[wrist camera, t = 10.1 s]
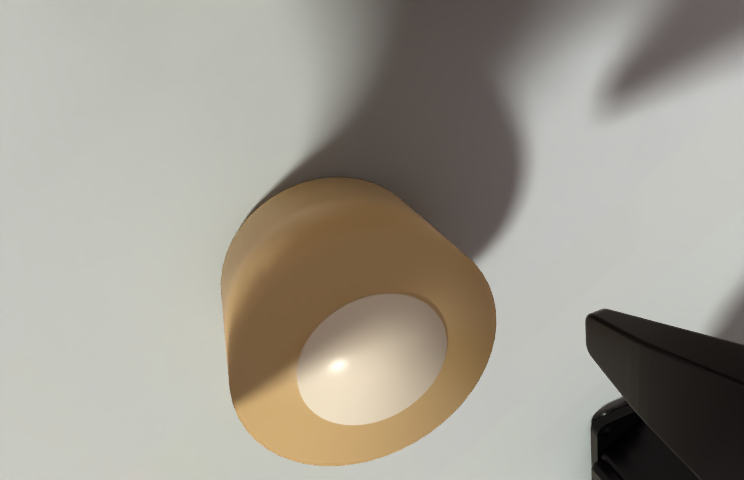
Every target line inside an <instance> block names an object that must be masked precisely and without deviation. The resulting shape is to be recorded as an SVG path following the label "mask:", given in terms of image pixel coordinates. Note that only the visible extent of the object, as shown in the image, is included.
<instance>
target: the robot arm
mask: <svg viewBox="0 0 744 480" xmlns="http://www.w3.org/2000/svg"><path fill="white" fill-rule="evenodd" d="M585 324H586V346H587V349H588V352H589V354H590V355H591V357H592V358H593V359H594V361H595V362H596V363H597V364H598V366H599V367H600V368H601V369H602V371H603V372H604V373H605V374H606V376H607V377H608V378H609V379H610V381H611V382H612V383H613V384H614V386H615V387H616V388H617V389H618V391H619V392H620V393H621V395H622V396H623V397H624V398H625V400H626V401H627V402H628V403H629V405H627V406H625V407H622V408H620V409H618V410H616V411H613V412H611V413H609V414H606V415H604V416H602V417H600V418H598V419H597V420H596V421H595V422H593V424H592V426H591V458H592V480H744V345H742V344H739V343H735V342H731V341H727V340H723V339H719V338H716V337H712V336H708V335H704V334H700V333H697V332H693V331H689V330H685V329H681V328H678V327H674V326H670V325H666V324H662V323H659V322H655V321H651V320H647V319H643V318H640V317H636V316H632V315H628V314H624V313H621V312H617V311H613V310H609V309H601V310H598V311H596V312H593V313H591V314H589V315H587V317H586V320H585Z"/></svg>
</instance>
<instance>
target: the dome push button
mask: <svg viewBox="0 0 744 480" xmlns="http://www.w3.org/2000/svg"><path fill="white" fill-rule="evenodd" d="M221 295H222V306H223V318H224V329H225V340H226V352H227V363H228V374H229V386H230V392H231V397H232V402H233V405H234V408H235V410H236V413H237V415H238V418H239V419H240V421H241V422H242V424H243V425H244V427H245V429H246V430H247V431H248V432H249V433H250V434H251V435H252V437H253V438H254V439H255V440H256V441H258V442H259V443H260V444H261V445H263V446H264V447H265V448H267V449H268V450H270V451H272V452H274V453H276V454H277V455H279V456H282V457H284V458H287V459H290V460H292V461H296V462H300V463H305V464H310V465H320V466H341V465H350V464H357V463H361V462H366V461H371V460H374V459H377V458H380V457H384V456H386V455H389V454H391V453H394V452H396V451H399V450H401V449H403V448H405V447H407V446H409V445H411V444H412V443H414V442H416V441H418V440H419V439H421V438H422V437H424V436H426V435H427V434H429V433H430V432H431V431H433V430H434V429H435V428H437V427H438V426H439V425H441V424H442V423H443V422H444V421H445V420H446V419H447V418H448V417H449V416H451V415H452V414H453V413H454V412H455V411H456V409H457V408H458V407H459V406H460V405H461V404H462V403H463V402H464V401H465V399H466V398H467V397H468V395H469V394H470V393H471V392H472V390H473V389H474V387H475V385H476V384H477V382H478V381H479V379H480V377H481V375H482V373H483V371H484V369H485V367H486V365H487V363H488V360H489V357H490V354H491V352H492V348H493V343H494V339H495V332H496V309H495V304H494V298H493V295H492V292H491V289H490V287H489V284H488V282H487V281H486V279H485V277H484V275H483V274H482V272H481V271H480V270H479V268H478V267H477V266H476V265H475V264H474V262H473V261H472V260H470V259H469V258H468V257H467V256H466V255H465V254H463V253H462V252H461V251H460V250H459V249H458V248H457V247H455V246H454V245H453V244H452V243H451V242H450V241H448V240H447V239H446V238H445V237H444V236H443V235H442V234H440V233H439V232H438V231H437V230H436V229H435V228H433V227H432V226H431V225H430V224H429V223H428V222H427V221H425V220H424V219H423V218H422V217H421V216H420V215H418V214H417V213H416V212H415V211H414V210H413V209H412V208H410V207H409V206H408V205H407V204H406V203H405V202H403V201H402V200H401V199H400V198H399V197H398V196H397V195H395V194H394V193H392V192H390V191H389V190H387V189H386V188H384V187H381V186H379V185H377V184H375V183H372V182H368V181H365V180H361V179H355V178H348V177H329V178H322V179H315V180H311V181H307V182H304V183H300V184H298V185H295V186H293V187H290V188H288V189H286V190H284V191H282V192H280V193H279V194H277V195H275V196H273V197H272V198H270V199H269V200H268V201H266V202H265V203H264V204H262V205H261V206H260V207H259V208H258V209H257V210H255V211H254V212H253V213H252V214H251V215H250V216H249V217H248V219H247V220H246V221H245V222H244V223H243V225H242V226H241V227H240V228H239V230H238V232H237V233H236V235H235V237H234V238H233V240H232V242H231V244H230V246H229V249H228V251H227V253H226V256H225V260H224V264H223V268H222V276H221Z"/></svg>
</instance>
